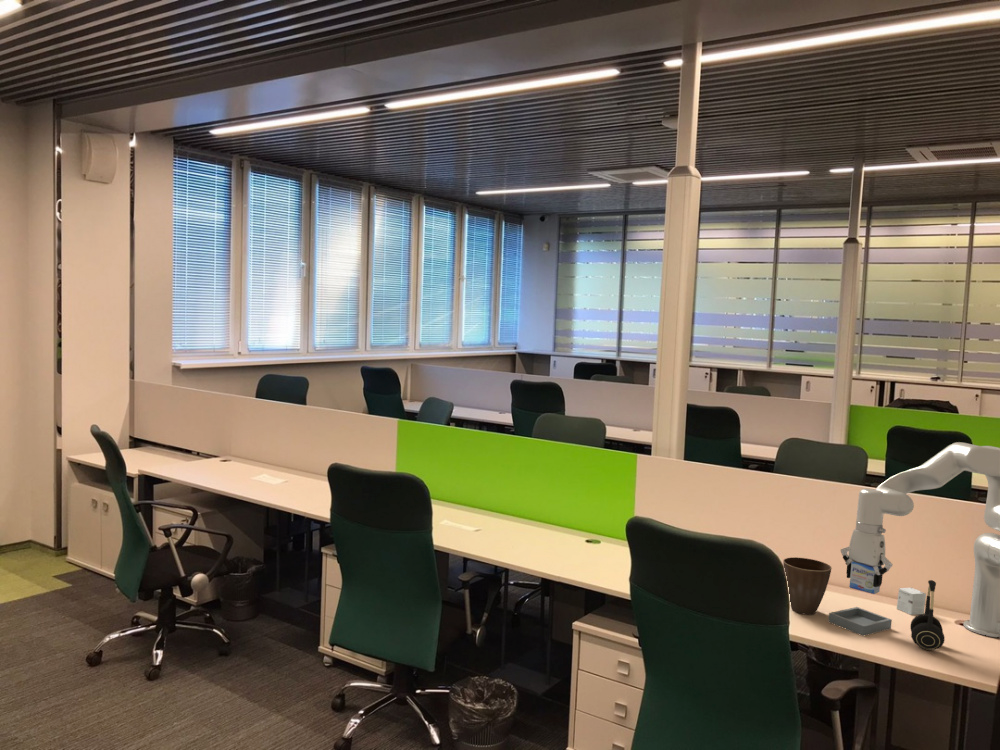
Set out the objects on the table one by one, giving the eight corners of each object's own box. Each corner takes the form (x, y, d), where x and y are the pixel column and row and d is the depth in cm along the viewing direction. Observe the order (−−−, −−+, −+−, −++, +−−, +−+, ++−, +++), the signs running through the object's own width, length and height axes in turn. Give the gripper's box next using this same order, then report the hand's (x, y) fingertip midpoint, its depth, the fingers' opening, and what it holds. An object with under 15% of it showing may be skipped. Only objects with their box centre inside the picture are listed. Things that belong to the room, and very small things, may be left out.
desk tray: (890, 628, 242) (891, 619, 242) (863, 635, 234) (863, 626, 234) (855, 615, 253) (856, 606, 252) (828, 622, 245) (829, 612, 244)
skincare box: (896, 608, 263) (898, 588, 262) (909, 607, 265) (911, 587, 264) (911, 615, 257) (913, 594, 257) (924, 614, 259) (926, 593, 259)
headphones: (940, 641, 234) (946, 577, 233) (944, 658, 221) (950, 590, 220) (908, 634, 238) (914, 572, 237) (910, 651, 225) (917, 584, 224)
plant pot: (802, 621, 244) (806, 572, 243) (769, 604, 258) (773, 558, 257) (837, 617, 250) (841, 569, 249) (803, 601, 263) (807, 556, 263)
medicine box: (848, 587, 245) (850, 561, 244) (854, 585, 248) (856, 559, 247) (874, 594, 239) (876, 567, 239) (879, 592, 242) (882, 565, 242)
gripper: (902, 534, 237) (896, 589, 237) (850, 520, 251) (845, 572, 252) (888, 536, 233) (882, 592, 233) (836, 522, 247) (831, 574, 248)
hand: (863, 581), depth 243 cm, fingers closed on medicine box, 8 cm apart
